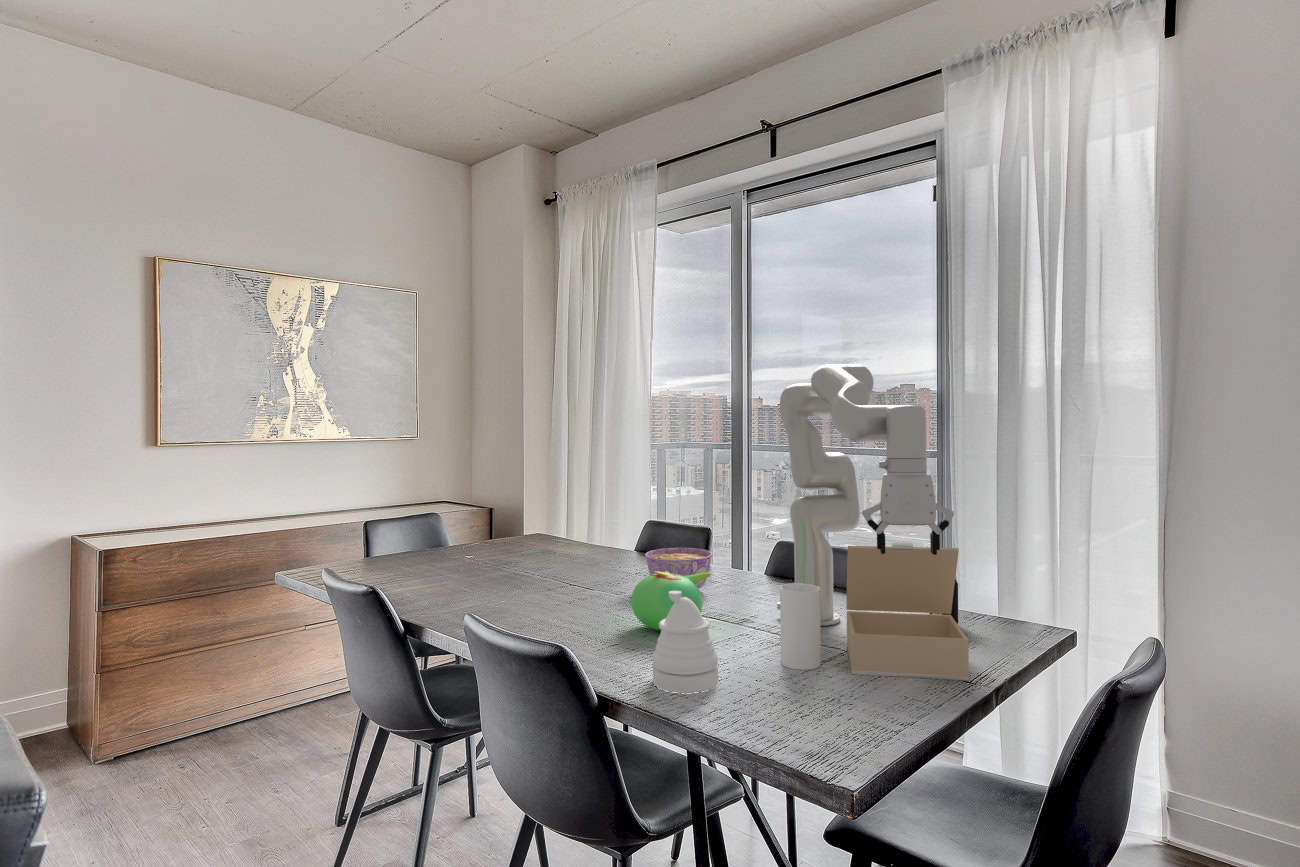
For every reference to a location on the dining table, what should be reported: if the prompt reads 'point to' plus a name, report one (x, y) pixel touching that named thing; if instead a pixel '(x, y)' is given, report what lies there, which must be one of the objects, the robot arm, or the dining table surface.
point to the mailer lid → (901, 579)
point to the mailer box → (907, 645)
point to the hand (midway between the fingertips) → (908, 553)
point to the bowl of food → (679, 561)
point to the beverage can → (953, 604)
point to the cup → (800, 626)
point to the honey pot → (684, 650)
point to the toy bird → (663, 595)
